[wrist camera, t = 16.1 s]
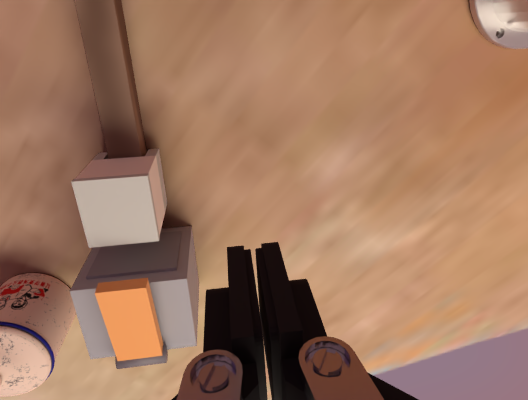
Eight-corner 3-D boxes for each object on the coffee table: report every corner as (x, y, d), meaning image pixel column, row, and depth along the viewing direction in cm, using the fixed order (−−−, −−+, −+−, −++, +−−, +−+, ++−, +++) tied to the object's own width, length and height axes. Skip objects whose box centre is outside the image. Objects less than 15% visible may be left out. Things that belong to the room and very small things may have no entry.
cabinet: (191, 223, 43) (186, 275, 34) (199, 283, 46) (196, 345, 37) (99, 231, 42) (68, 288, 32) (114, 292, 45) (90, 359, 36)
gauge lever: (150, 275, 32) (148, 289, 30) (168, 351, 37) (166, 366, 35) (96, 281, 31) (91, 295, 30) (121, 357, 36) (118, 372, 35)
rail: (114, -113, 30) (100, -135, 26) (168, 223, 42) (164, 244, 38) (48, -113, 29) (22, -136, 25) (122, 228, 42) (113, 249, 38)
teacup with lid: (56, 259, 42) (5, 336, 32) (94, 318, 46) (59, 404, 36) (-47, 291, 42) (-132, 378, 32) (-1, 348, 46) (-63, 442, 36)
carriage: (159, 147, 38) (147, 175, 30) (168, 203, 40) (159, 241, 33) (97, 152, 37) (71, 181, 30) (110, 208, 40) (88, 247, 32)
